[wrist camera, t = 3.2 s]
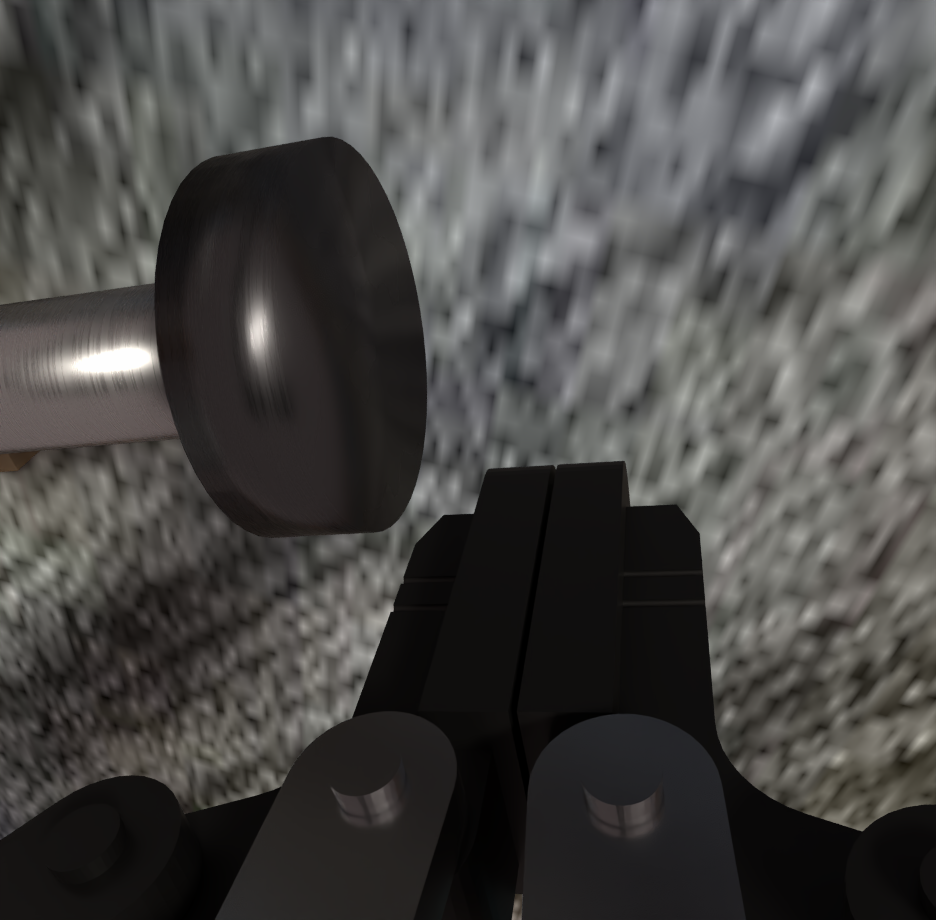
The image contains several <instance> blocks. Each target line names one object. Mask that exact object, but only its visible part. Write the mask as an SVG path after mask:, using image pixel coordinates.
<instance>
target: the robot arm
mask: <svg viewBox="0 0 936 920" xmlns="http://www.w3.org/2000/svg"><path fill="white" fill-rule="evenodd" d="M515 894H523V902H522V920H936V805H919V806H912V807H906V808H903V809H900V810H897V811H894V812H891V813H888V814H886V815H885V816H883V817H881V818H879V819H877V820H876V821H874V822H873V823H872V824H871V825H869V826H868V827H867V828H866V829H865V830H864V831H863V832H862V831H859V830H855V829H852V828H849V827H846V826H843V825H840V824H836V823H833V822H830V821H827V820H824V819H820V818H817V817H814V816H811V815H808V814H805V813H802V812H800V811H797V810H794V809H792V808H789V807H787V806H785V805H783V804H781V803H779V802H777V801H775V800H773V799H772V798H770V797H768V796H767V795H765V794H764V793H762V792H761V791H760V790H758V789H757V788H755V787H754V786H753V785H752V784H751V783H749V782H748V781H747V780H746V779H745V778H744V777H743V776H742V775H741V774H740V773H739V772H738V771H737V770H736V768H735V767H734V766H733V765H732V764H731V762H730V761H729V759H728V757H727V756H726V754H725V752H724V751H723V749H722V746H721V744H720V741H719V739H718V736H717V731H716V725H715V716H714V704H713V692H712V679H711V667H710V655H709V643H708V630H707V618H706V606H705V594H704V582H703V570H702V557H701V545H700V533H699V532H698V531H697V530H696V528H695V527H694V526H693V525H692V523H691V522H690V521H689V520H688V518H687V517H686V516H685V515H684V513H683V512H682V511H681V510H680V508H679V507H678V506H677V505H656V506H633V507H630V498H629V487H628V477H627V470H626V464H625V461H614V462H596V463H578V464H560V465H558V466H557V469H555V467H554V465H547V466H529V467H511V468H494V469H488V470H487V472H486V474H485V477H484V481H483V484H482V488H481V491H480V495H479V498H478V502H477V505H476V509H475V512H474V514H458V515H443V516H442V517H441V518H440V520H439V521H438V522H437V523H436V524H435V525H434V526H433V527H432V528H431V529H430V530H429V531H428V532H427V533H426V534H425V535H424V536H423V537H422V538H421V539H420V540H419V541H418V542H417V543H416V544H415V547H414V550H413V552H412V555H411V558H410V561H409V563H408V566H407V569H406V572H405V574H404V584H401V585H400V588H399V591H398V594H397V596H396V599H395V602H394V612H391V613H390V616H389V618H388V621H387V624H386V627H385V629H384V632H383V635H382V638H381V640H380V643H379V646H378V648H377V651H376V654H375V657H374V659H373V662H372V665H371V668H370V670H369V673H368V676H367V679H366V681H365V684H364V687H363V690H362V692H361V695H360V698H359V701H358V703H357V706H356V709H355V712H354V714H353V717H352V718H351V719H349V720H346V721H344V722H341V723H340V724H338V725H336V726H334V727H332V728H330V729H329V730H327V731H326V732H324V733H323V734H322V735H320V736H319V737H317V738H316V739H315V740H314V741H313V742H312V743H311V744H310V745H309V746H307V747H306V748H305V750H304V751H303V752H302V753H301V754H300V756H299V757H298V758H297V759H296V761H295V762H294V764H293V766H292V767H291V769H290V771H289V773H288V775H287V777H286V779H285V781H284V783H283V785H282V787H279V788H277V789H275V790H272V791H269V792H266V793H263V794H260V795H257V796H253V797H249V798H245V799H241V800H238V801H234V802H230V803H226V804H222V805H218V806H215V807H211V808H207V809H203V810H199V811H196V812H192V813H188V814H184V812H183V810H182V808H181V806H180V804H179V803H178V801H177V799H176V797H175V795H174V794H173V792H172V791H171V790H170V789H169V788H168V787H167V786H166V785H164V784H163V783H161V782H159V781H157V780H155V779H152V778H148V777H145V776H133V775H131V776H119V777H114V778H109V779H105V780H102V781H99V782H96V783H93V784H90V785H88V786H86V787H84V788H81V789H79V790H77V791H75V792H73V793H72V794H70V795H68V796H67V797H65V798H63V799H62V800H60V801H58V802H57V803H55V804H54V805H52V806H51V807H49V808H48V809H46V810H45V811H43V812H42V813H40V814H39V815H37V816H36V817H34V818H33V819H31V820H30V821H28V822H27V823H25V824H24V825H22V826H21V827H19V828H18V829H16V830H15V831H13V832H12V833H10V834H9V835H7V836H6V837H4V838H3V839H1V840H0V920H512V913H513V905H514V898H515Z"/></svg>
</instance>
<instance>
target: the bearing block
mask: <svg viewBox="0 0 936 920" xmlns="http://www.w3.org/2000/svg"><path fill="white" fill-rule="evenodd" d="M38 452H39V451H32V452H20V453H9V454H0V472H6V471H18V470H19V469H20V468H21V467H22V466H23V465H24V464H26V463H27V462H28V461H29V460H30V459H31V458H32V457H33V456H34V455H36V454H37V453H38Z"/></svg>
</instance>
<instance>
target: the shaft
mask: <svg viewBox="0 0 936 920" xmlns="http://www.w3.org/2000/svg"><path fill="white" fill-rule="evenodd" d="M426 416H427V372H426V356H425V345H424V335H423V327H422V320H421V312H420V307H419V301H418V295H417V290H416V285H415V281H414V276H413V272H412V268H411V264H410V260H409V256H408V252H407V249H406V246H405V242H404V239H403V236H402V233H401V230H400V227H399V224H398V222H397V219H396V216H395V214H394V211H393V209H392V207H391V204H390V202H389V200H388V197H387V195H386V193H385V191H384V189H383V187H382V185H381V184H380V182H379V180H378V178H377V177H376V175H375V173H374V172H373V170H372V169H371V167H370V166H369V164H368V163H367V162H366V161H365V159H364V158H363V157H362V156H361V154H360V153H359V152H357V151H356V150H355V149H354V148H353V147H352V146H351V145H349V144H348V143H346V142H345V141H343V140H341V139H338V138H334V137H321V138H316V139H310V140H305V141H299V142H293V143H288V144H282V145H277V146H271V147H266V148H260V149H254V150H249V151H243V152H238V153H232V154H226V155H221V156H215V157H212V158H210V159H208V160H205V161H203V162H201V163H200V164H199V165H198V166H196V167H195V168H194V169H193V170H191V171H190V173H189V174H188V175H187V176H186V178H185V179H184V180H183V181H182V183H181V184H180V186H179V188H178V190H177V191H176V193H175V195H174V197H173V199H172V201H171V204H170V206H169V209H168V212H167V215H166V218H165V220H164V224H163V228H162V233H161V237H160V242H159V246H158V254H157V263H156V271H155V283H153V284H146V285H139V286H131V287H124V288H117V289H110V290H103V291H96V292H89V293H81V294H74V295H67V296H60V297H53V298H46V299H39V300H31V301H24V302H17V303H10V304H3V305H0V454H9V453H20V452H32V451H43V450H55V449H66V448H78V447H89V446H101V445H112V444H124V443H136V442H147V441H159V440H170V439H180V440H181V443H182V445H183V448H184V450H185V452H186V454H187V457H188V459H189V461H190V463H191V465H192V467H193V469H194V471H195V473H196V475H197V476H198V478H199V480H200V481H201V483H202V485H203V486H204V488H205V490H206V491H207V493H208V494H209V495H210V497H211V498H212V499H213V501H214V502H215V503H216V504H217V506H218V507H219V508H220V509H221V510H222V511H223V512H224V513H225V514H226V515H227V516H228V517H229V518H230V519H231V520H232V521H233V522H234V523H236V524H237V525H239V526H240V527H242V528H243V529H244V530H246V531H248V532H250V533H253V534H255V535H258V536H262V537H269V538H279V537H298V536H317V535H336V534H355V533H374V532H380V531H384V530H386V529H388V528H389V527H391V526H392V525H393V524H394V523H395V522H396V521H397V520H398V519H399V518H400V517H401V515H402V514H403V512H404V511H405V509H406V507H407V505H408V503H409V501H410V499H411V497H412V494H413V491H414V488H415V485H416V482H417V478H418V474H419V470H420V466H421V460H422V455H423V448H424V440H425V430H426Z"/></svg>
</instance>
